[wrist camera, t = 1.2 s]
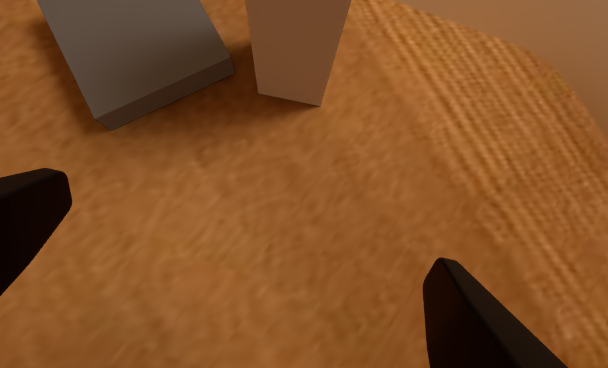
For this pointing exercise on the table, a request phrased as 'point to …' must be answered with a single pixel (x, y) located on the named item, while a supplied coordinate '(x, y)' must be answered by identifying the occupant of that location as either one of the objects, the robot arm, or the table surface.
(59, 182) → the robot arm
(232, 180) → the table surface
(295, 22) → the tall white pillar block
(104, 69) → the plate
